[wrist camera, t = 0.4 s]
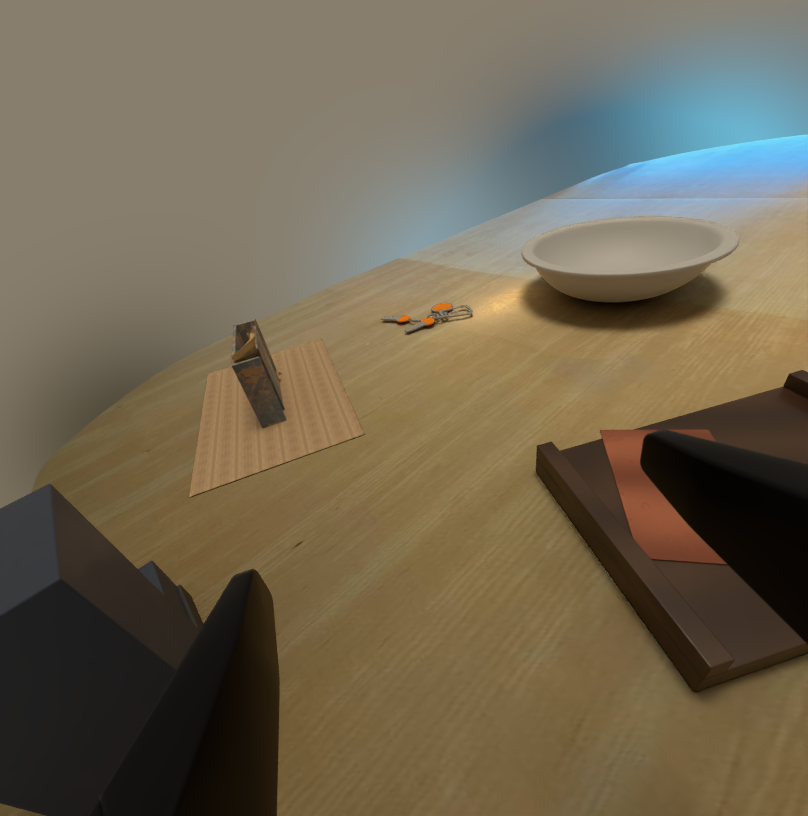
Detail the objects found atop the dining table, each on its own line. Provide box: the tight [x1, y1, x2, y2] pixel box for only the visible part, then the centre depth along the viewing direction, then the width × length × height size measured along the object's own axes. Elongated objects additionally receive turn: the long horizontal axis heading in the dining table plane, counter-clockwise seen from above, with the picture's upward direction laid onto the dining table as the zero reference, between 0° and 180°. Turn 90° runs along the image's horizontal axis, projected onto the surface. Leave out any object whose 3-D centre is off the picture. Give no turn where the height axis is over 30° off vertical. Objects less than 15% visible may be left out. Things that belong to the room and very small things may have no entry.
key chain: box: [381, 303, 472, 332], centre depth 56 cm, size 13×7×1 cm, turn 100°
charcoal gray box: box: [0, 484, 203, 816], centre depth 18 cm, size 10×6×14 cm, turn 42°
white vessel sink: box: [521, 216, 739, 302], centre depth 51 cm, size 24×24×7 cm
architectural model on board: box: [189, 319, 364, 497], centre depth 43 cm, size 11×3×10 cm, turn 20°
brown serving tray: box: [536, 370, 808, 691], centre depth 24 cm, size 16×22×3 cm
